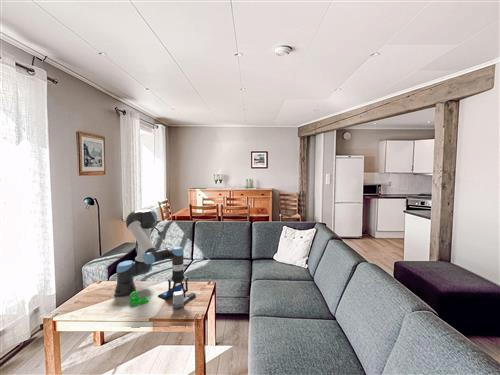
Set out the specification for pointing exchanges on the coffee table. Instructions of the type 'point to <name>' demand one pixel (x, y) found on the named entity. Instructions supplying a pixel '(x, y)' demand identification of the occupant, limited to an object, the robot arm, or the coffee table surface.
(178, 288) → the handheld game console
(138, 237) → the robot arm
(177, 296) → the grey metal block
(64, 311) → the coffee table surface
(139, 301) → the mechanical part
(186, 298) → the ladle
